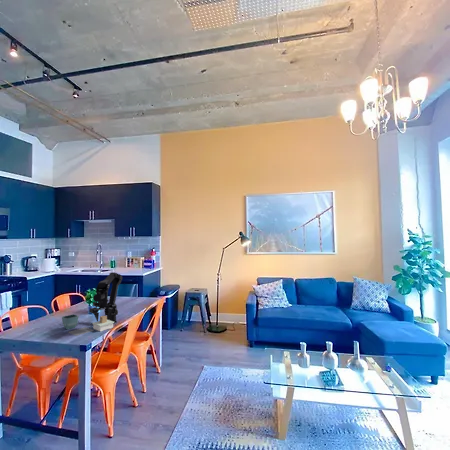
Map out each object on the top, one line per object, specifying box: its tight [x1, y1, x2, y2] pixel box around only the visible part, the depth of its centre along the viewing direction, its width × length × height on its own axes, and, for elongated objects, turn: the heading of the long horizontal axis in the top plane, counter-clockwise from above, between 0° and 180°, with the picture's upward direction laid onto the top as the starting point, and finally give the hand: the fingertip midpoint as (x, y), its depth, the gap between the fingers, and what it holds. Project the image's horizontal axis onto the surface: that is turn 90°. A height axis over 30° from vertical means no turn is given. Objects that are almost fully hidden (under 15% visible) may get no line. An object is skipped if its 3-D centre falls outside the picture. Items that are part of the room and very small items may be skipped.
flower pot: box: [61, 314, 79, 330], centre depth 207 cm, size 9×9×9 cm
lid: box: [92, 314, 115, 327], centre depth 205 cm, size 11×11×5 cm
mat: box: [67, 326, 95, 337], centre depth 199 cm, size 13×13×1 cm
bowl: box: [92, 323, 114, 332], centre depth 205 cm, size 10×10×4 cm
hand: (103, 319), depth 205 cm, fingers open, 9 cm apart
